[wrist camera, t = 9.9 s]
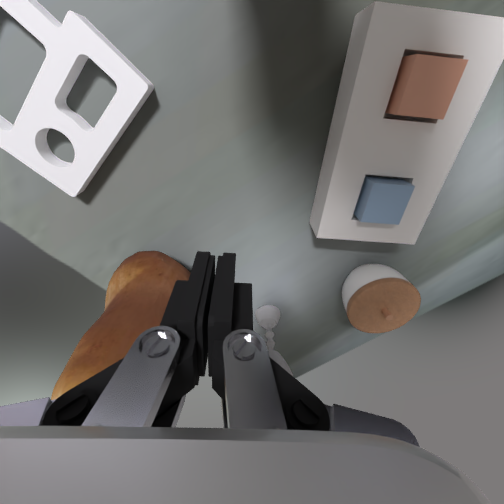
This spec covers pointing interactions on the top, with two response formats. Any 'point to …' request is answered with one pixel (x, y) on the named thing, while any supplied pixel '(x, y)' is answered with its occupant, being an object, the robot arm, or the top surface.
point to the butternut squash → (123, 315)
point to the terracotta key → (425, 86)
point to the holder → (56, 91)
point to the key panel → (397, 126)
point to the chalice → (269, 320)
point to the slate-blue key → (383, 200)
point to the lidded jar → (379, 298)
